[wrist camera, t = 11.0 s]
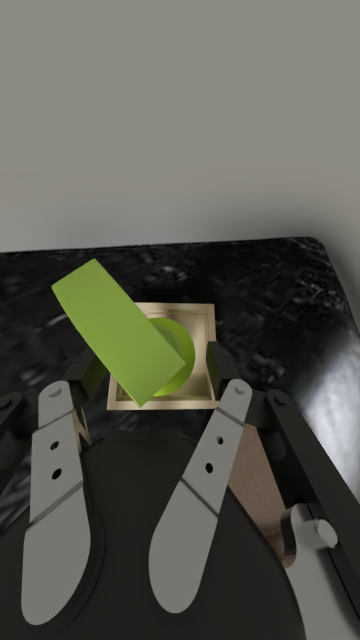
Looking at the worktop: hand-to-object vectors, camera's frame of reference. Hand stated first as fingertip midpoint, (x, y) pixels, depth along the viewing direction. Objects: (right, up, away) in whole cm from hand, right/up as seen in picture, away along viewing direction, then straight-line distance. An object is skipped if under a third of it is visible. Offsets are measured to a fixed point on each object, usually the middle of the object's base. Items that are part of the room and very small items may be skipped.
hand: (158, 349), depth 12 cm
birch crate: (-1, -3, +13) cm, 13 cm away
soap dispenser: (-1, -3, +12) cm, 13 cm away
